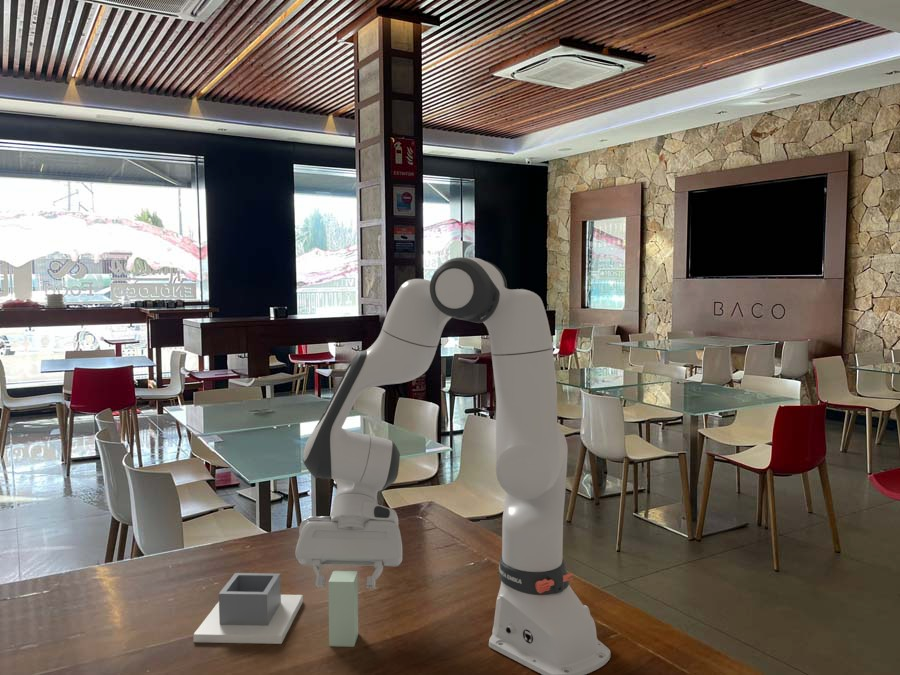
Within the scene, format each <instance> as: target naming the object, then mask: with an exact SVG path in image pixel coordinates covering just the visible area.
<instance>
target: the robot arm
mask: <svg viewBox="0 0 900 675" xmlns="http://www.w3.org/2000/svg"><path fill="white" fill-rule="evenodd" d="M506 279H507V278H506V277H505V274H504V273H503V272H502V270H501V269H500V268H499V267H498V266H497V265H496V264H494V263H493V262H491V261H489V260H483V259H482V258H477V257H473V256H470V257H467V256H466V257H454V258H451V259H448V260H446V261H444V262H443V263H442V264H440V265H439V266H438V267H437V269H435V271H434V273H433V274H432V276H431V279H430V280H428V279H423V278H412V279H408V280H406V281H404V282H403V283H402V284H401V285H400V287H399V289H398V290H397V293H395V296H394V298H393V300H392V302H391V304H390V306H389V308H388V311H387V313H386V316H385V319H384V321H383V323H382V324H383V325H382V328H381V330H380V333H379V335H378V337H377V338H376V340H375V341H374V342H373V343H372V344H371V346H369V347H368V348H367V349H365V350H361V351H358V352H357V353H356V354H355V355H354V357H353V358H352V359H351V361H350V363H349V364H348V366H347V368H346V370H345V372H344V373H343V375H342V377H341V379H340V380H339V382H338V384H337V386H336V388H335V390H334V392H333V393H332V396H331V398H330V400H329V402H328V404H327V406H326V408H325V410H324V411H323V414H322V416H321V418H320V419H319V421H318V423H317V424H316V425H315V427H314V429H313V431H312V432H311V434H309V437H308V438H307V440H306V442H305V445H304V449H303V455H302V456H303V457H302V462H303V464H304V466H305V467H306V470H308V472H309V473H310V474H311V475H312V476H313V477H314V478H315V479H316V478H319V479H326V480H332V479H333V480H336V488H337V489H336V493H335V495H334V498H333V504H332V511H331V516H327V515H326V516H325V515H324V516H323V515H321V516H316V515H311V516H308V518H304V519H303V520H302V521H301V522H300V524H299V530H298V535H299V537H298V540H297V543H296V548H295V553H294V554H295V558H296V560H297V561H298V562H299V564H301V565H311V567H312V569H313V571H314V574H315V585H314V586H315V588H325V586H326V585H325V583H326V576H325V575H323V574H320V571H321V570H322V566H324V565H325V566H363V567H364V566H365V567H367V566H368V567H369V566H371V567H374V572H373V573H372V574H371V576H370V575H367V577H366V585H365V586H366V589H373V590H374V589H376V582H377V580H378V579H379V577H380V576H381V574H382V573H383V570H384V567H398V566H400V565H401V563H402V561H403V542H402V535H401V531H400V527H399V518H398V513H397V512H396V510H395V509H393V508H390V507H387V506H385V505H380V504H378V503H379V502H378V498H377V497H378V492H382V491H384V490H385V489H387V488H388V487H390V486H391V485H392V484H394V483H395V482H396V480H397V478H398V474H399V468H400V461H401V460H400V459H401V457H400V456H401V453H400V451H399V449H398V447H397V445H396V444H395V442H394V441H393V440H390V439H388V438H385V437H381V436H376V435H373V434H372V435H371V434H366V433H361V432H357V431H352V430H348V429H344V428H343V426H344V424H345V422H346V420H347V418H348V416H349V414H350V412H351V410H352V409H353V407H354V405H355V403H356V401H357V399H358V398H359V397H360V395H361V394H362V393H363V392H365V391H367V390H369V389H372V388H375V387H380V386H385V385H386V386H387V385H396V384H403V383H407V382H408V383H409V382H410V381H414V380H416V379H418V378H419V377H421V376H422V375H423V374H425V373H426V372H427V371H428V370H429V368H430V366H431V365H432V362H433V360H434V357H435V355H436V351H437V349H438V346H439V344H440V340H441V337H442V335H443V334H442V333H443V330H444V328H445V326H446V325H447V323H448V322H449V321H450V320H451V319H455V320H462V321H466V322H471V323H477V324H482V323H483V324H484V326H485V327H486V329H487V333H488V336H489V341H490V353H491V361H492V369H493V370H492V371H493V380H494V388H495V401H496V402H495V451H496V453H495V454H496V457H495V460H496V462H495V475H496V479H497V482H498V484H499V485H500V487H501V489H503V490H504V492H505V501H504V506H503V514H502V530H501V534H502V536H501V538H502V542H501V545H502V548H501V554H502V555H500V559H499V564H498V571H499V573H498V574H499V576H498V577H499V579H500V586H499V591H498V593H497V597H496V602H495V611H494V619H493V620H494V621H493V626H492V629H491V630H492V631H491V632H492V634H491V636H490V637H489V641H488V647H489V648H490V649H492V650H494V651H496V652H498V653H500V654H501V655H504V656H506V657H507V658H509V659H512V660H513V661H515V662H517V663H519V664H521V665H523V666H525V667H526V668H529V669H530V670H533V671H534V672H537V673H539V674H541V675H587V674H590V673H592V672H594V671H596V670H599V669H600V668H602V667H603V666H605V665H606V664H607V663H608V661H610V659H611V657H612V656H611V653H612V652H611V650H610V649H609V647H607V646H606V645H605V644H604V643H603V642H601V641H600V640H599V639H598V636H597V628H596V623H595V620H594V618H593V616H592V615H591V611H590V608H589V606H587V605H585V604H583V603H582V601H581V600H580V598H579V597H578V596H577V594H576V593H575V591H573V589H572V587H571V586H570V581H571V580H573V579H574V578H573V577H572V576H573V575H574V573H573V572H570V573H568V571H567V566H566V563H565V560H564V558H563V553H564V552H563V551H564V550H563V548H564V547H563V544H564V542H563V541H564V540H563V539H564V515H565V514H564V511H565V501H566V489H567V488H566V486H567V472H568V471H567V470H568V468H567V467H568V452H569V451H568V448H569V447H568V442H567V439H566V436H565V434H564V432H563V431H562V429H561V428H560V427H559V426H558V385H557V384H558V383H557V377H556V367H555V366H556V365H555V358H554V357H555V356H554V348H553V339H552V333H551V330H550V324H549V320H548V316H547V313H546V309H545V306H544V303H543V300H542V298H541V296H539V295H538V294H537V293H535V292H534V291H531V290H528V289H524V288H520V289H519V288H516V289H514V288H513V289H510V288H508V285H507V280H506Z"/></svg>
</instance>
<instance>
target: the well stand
mask: <svg viewBox="0 0 900 675" xmlns="http://www.w3.org/2000/svg"><path fill="white" fill-rule="evenodd" d="M281 586H282V585H281V573H276V572H275V573H274V572H273V573H271V572H270V573H266V572H264V573H263V572H262V573H259V572H235V573H233V575H232V576H231V577H230V579H229V580H228V581H227V583H225V585H224V586H223V588H221V590H220V591H219V593H218V602H216V604H215V606H214V607H213V608H212V609H211V611H210V612H209V613H208V615H207V616H206V617H205V619H203V621H202V623H201V624H200V625H199V626H198V628H197V629H196V630H195V631H194V633H193V637H192V638H193V643H213V644H214V643H215V644H216V643H217V644H219V643H222V644H226V643H227V644H267V645H268V644H275V645H276V644H279V645H281V644H282V643H283V641H284V639H285V638H286V636H287V633H288V632H289V630H290V628H291V626H292V624H293V622H294V620H295V618H296V616H297V614H298V612H299V611H300V609H301V606H302V605H303V602H304V601H303V600H304V598H303V597H304V596H303V594H281V593H282V592H281V590H282V588H281Z"/></svg>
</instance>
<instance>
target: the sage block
mask: <svg viewBox="0 0 900 675" xmlns="http://www.w3.org/2000/svg"><path fill="white" fill-rule="evenodd" d="M358 572H359V571H357V570H332V572H331V575H330V577H329V580H328V581H327V583H328V647H347V648H348V647H355V645H356V642H357V639H358V636H359V587H358V586H359V584H358V583H359V574H358Z"/></svg>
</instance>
